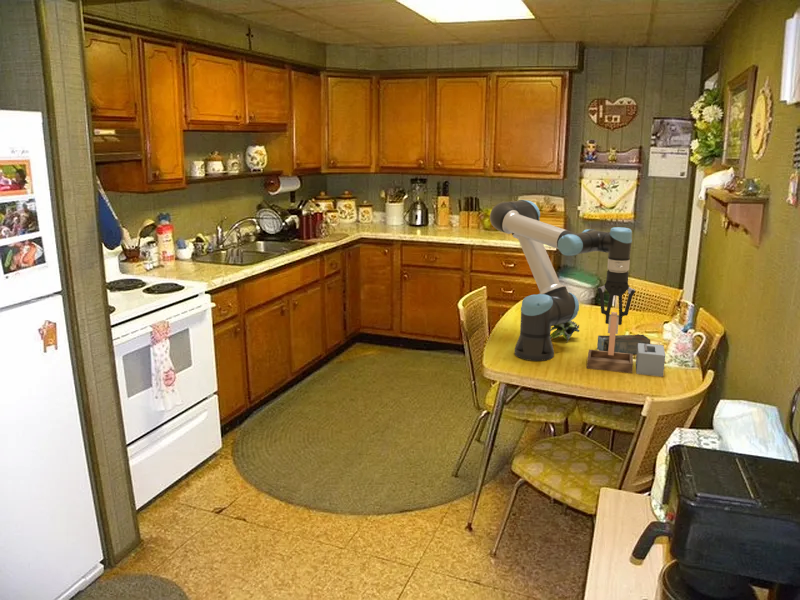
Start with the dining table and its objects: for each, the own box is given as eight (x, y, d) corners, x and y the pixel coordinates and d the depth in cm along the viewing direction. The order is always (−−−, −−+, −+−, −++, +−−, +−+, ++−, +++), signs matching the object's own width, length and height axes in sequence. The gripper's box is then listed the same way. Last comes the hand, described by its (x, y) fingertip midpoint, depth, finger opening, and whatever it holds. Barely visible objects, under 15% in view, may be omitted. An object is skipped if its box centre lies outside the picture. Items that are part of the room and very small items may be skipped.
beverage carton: (596, 348, 263) (597, 333, 261) (642, 348, 263) (644, 333, 262) (602, 355, 255) (604, 339, 253) (650, 355, 256) (652, 339, 254)
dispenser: (636, 373, 235) (638, 351, 233) (635, 362, 246) (637, 341, 244) (663, 376, 232) (665, 354, 230) (661, 365, 243) (663, 343, 241)
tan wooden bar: (608, 354, 239) (611, 316, 236) (608, 349, 245) (611, 311, 241) (613, 355, 239) (617, 316, 235) (613, 350, 244) (617, 312, 241)
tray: (586, 368, 240) (587, 359, 239) (588, 357, 251) (588, 349, 250) (632, 373, 235) (633, 364, 235) (631, 362, 246) (632, 353, 246)
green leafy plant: (563, 349, 278) (580, 326, 277) (570, 353, 267) (587, 329, 266) (542, 334, 277) (558, 311, 277) (548, 337, 266) (565, 313, 266)
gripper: (596, 271, 233) (591, 333, 239) (640, 273, 228) (634, 337, 234) (596, 267, 240) (592, 327, 246) (639, 269, 235) (633, 331, 241)
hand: (612, 332), depth 240 cm, fingers closed on tan wooden bar, 2 cm apart
